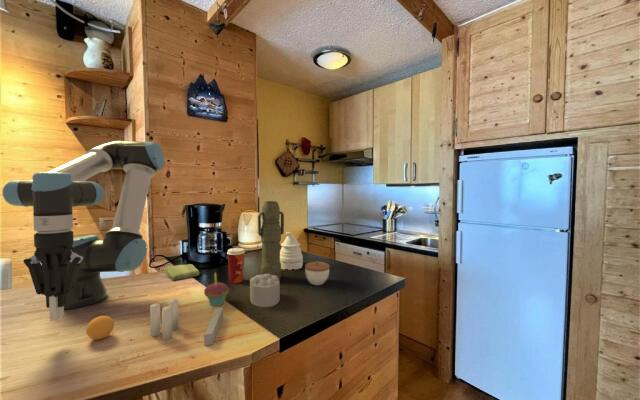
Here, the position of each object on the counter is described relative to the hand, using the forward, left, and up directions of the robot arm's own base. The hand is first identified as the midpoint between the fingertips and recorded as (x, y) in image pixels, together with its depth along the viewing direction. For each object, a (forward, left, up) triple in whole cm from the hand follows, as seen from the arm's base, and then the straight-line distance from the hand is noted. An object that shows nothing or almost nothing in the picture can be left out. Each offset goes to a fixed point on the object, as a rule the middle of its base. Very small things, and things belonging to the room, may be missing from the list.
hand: (57, 318), depth 74 cm
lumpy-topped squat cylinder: (+54, +20, -7) cm, 58 cm away
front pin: (+24, +1, -7) cm, 25 cm away
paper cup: (+41, +42, -7) cm, 59 cm away
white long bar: (+40, +1, -7) cm, 41 cm away
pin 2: (+28, +3, -7) cm, 29 cm away
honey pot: (+66, +61, -7) cm, 90 cm away
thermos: (+56, +43, -7) cm, 71 cm away
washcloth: (+14, +55, -7) cm, 58 cm away
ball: (+10, +1, -4) cm, 11 cm away
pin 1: (+28, -2, -7) cm, 29 cm away
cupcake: (+37, +20, -7) cm, 42 cm away
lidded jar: (+76, +35, -7) cm, 84 cm away
